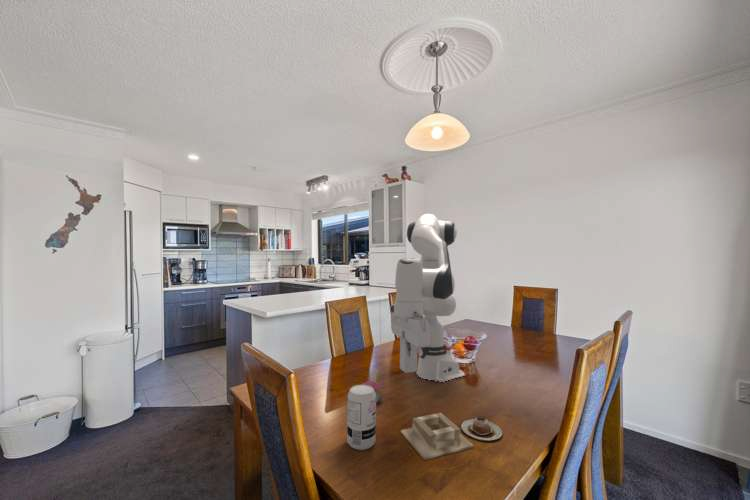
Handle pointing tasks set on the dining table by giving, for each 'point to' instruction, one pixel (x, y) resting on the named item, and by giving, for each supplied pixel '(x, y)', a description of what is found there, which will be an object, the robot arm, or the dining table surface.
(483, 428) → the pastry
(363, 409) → the supplement can
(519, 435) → the dining table surface
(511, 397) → the dining table surface
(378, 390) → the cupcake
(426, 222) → the robot arm
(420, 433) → the well
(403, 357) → the grey long block
